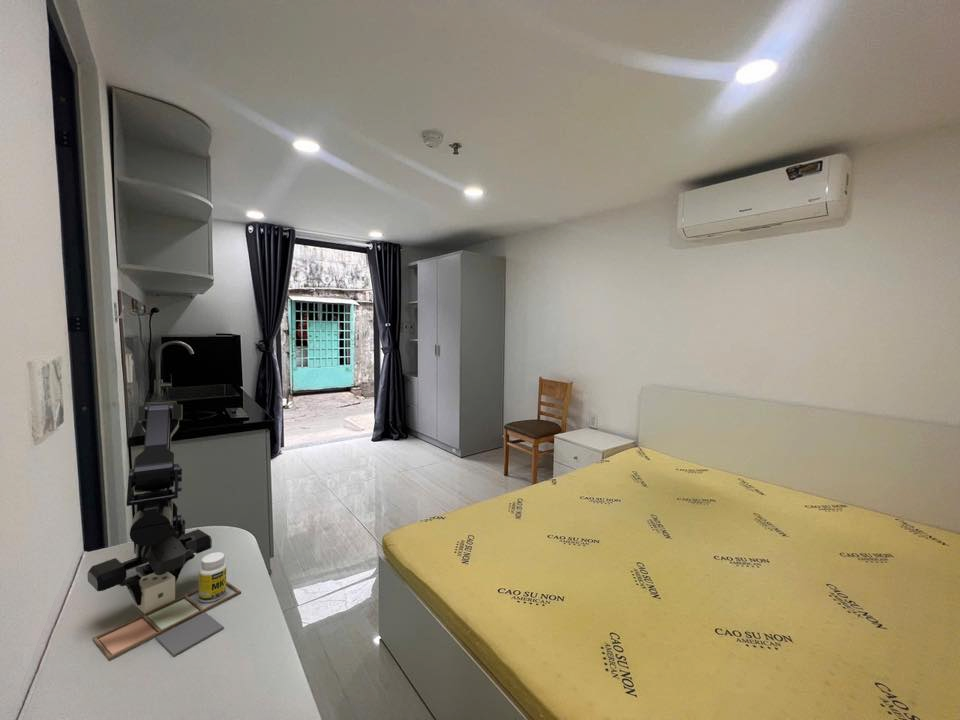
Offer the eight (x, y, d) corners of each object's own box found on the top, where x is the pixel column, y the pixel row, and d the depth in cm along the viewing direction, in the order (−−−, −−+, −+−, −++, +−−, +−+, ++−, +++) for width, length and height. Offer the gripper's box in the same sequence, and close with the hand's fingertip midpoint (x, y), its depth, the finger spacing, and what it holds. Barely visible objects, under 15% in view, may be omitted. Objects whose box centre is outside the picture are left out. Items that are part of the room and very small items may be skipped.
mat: (155, 639, 72) (155, 637, 72) (205, 613, 79) (205, 611, 79) (173, 657, 68) (173, 654, 68) (223, 628, 75) (223, 626, 75)
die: (133, 604, 81) (133, 580, 80) (164, 591, 85) (164, 568, 85) (144, 614, 78) (144, 589, 78) (175, 600, 82) (175, 576, 82)
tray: (92, 640, 71) (92, 637, 71) (221, 580, 89) (221, 578, 89) (109, 660, 67) (109, 658, 67) (240, 593, 85) (241, 591, 85)
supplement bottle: (212, 605, 81) (212, 565, 81) (192, 601, 82) (193, 561, 82) (231, 590, 86) (231, 552, 86) (212, 587, 87) (213, 549, 86)
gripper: (108, 556, 68) (109, 644, 69) (225, 516, 84) (224, 588, 85) (85, 536, 74) (87, 617, 75) (199, 503, 90) (198, 570, 91)
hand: (154, 597), depth 81 cm, fingers closed on die, 5 cm apart
